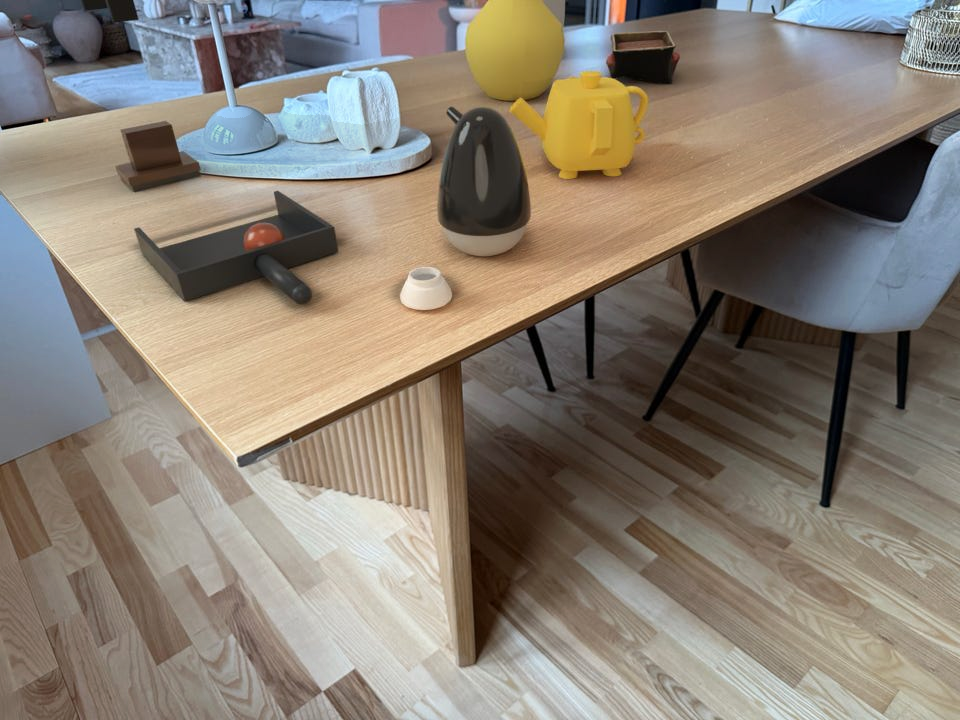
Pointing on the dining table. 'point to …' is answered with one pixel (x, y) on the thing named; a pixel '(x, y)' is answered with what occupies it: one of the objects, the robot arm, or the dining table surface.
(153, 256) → the dustpan
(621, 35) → the black rectangular planter
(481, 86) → the vase
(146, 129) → the stepped wooden pedestal
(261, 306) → the dining table surface
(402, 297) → the white jar
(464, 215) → the black soy sauce dispenser
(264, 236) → the bead
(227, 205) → the dining table surface
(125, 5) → the robot arm
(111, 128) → the dining table surface
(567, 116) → the teapot
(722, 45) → the dining table surface
